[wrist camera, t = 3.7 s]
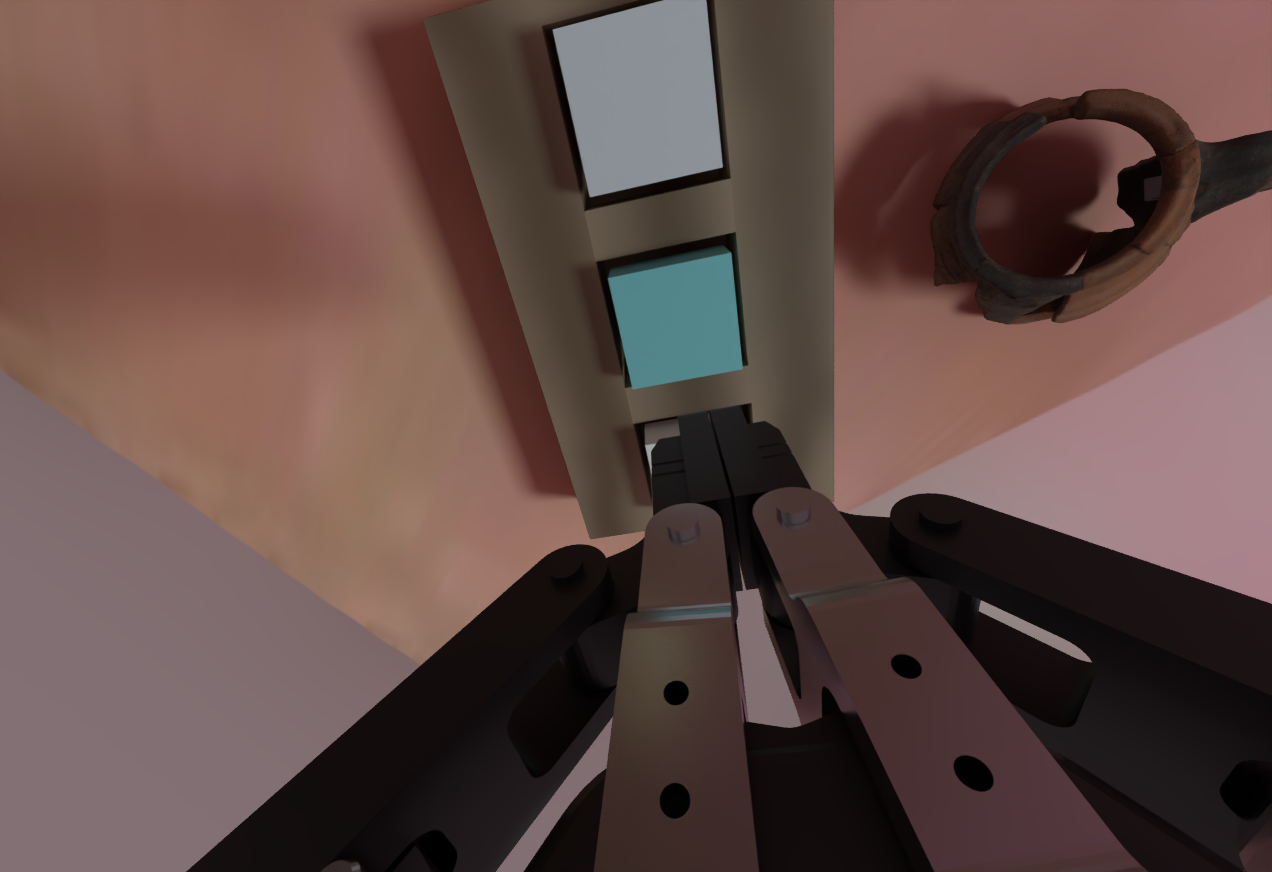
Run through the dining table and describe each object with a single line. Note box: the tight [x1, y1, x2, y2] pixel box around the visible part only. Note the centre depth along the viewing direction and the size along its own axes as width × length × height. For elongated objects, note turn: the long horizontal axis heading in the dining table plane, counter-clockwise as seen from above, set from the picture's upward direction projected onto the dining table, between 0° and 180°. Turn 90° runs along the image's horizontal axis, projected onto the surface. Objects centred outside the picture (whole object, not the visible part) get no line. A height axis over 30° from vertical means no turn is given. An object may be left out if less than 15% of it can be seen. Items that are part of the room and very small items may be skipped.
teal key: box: [608, 245, 743, 389], centre depth 21 cm, size 5×5×2 cm
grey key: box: [553, 0, 723, 197], centre depth 18 cm, size 5×5×2 cm
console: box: [423, 0, 834, 539], centre depth 23 cm, size 14×24×4 cm, turn 11°
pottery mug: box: [930, 89, 1272, 324], centre depth 21 cm, size 12×10×8 cm
